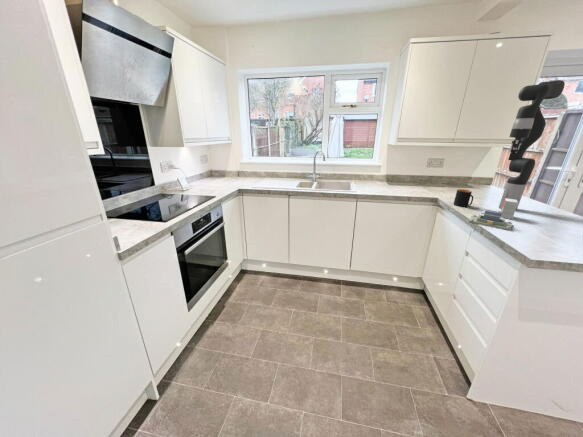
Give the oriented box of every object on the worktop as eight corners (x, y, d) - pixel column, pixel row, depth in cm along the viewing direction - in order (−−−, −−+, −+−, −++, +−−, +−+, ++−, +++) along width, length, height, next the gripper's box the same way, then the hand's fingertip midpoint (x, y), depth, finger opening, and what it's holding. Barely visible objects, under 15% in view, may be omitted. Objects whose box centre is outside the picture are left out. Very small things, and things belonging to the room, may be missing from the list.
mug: (464, 208, 154) (469, 193, 151) (450, 203, 166) (454, 189, 162) (475, 208, 156) (480, 193, 152) (460, 203, 167) (464, 189, 163)
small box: (499, 214, 145) (505, 197, 141) (511, 216, 142) (517, 199, 138) (499, 217, 139) (505, 200, 135) (512, 219, 136) (518, 202, 132)
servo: (480, 218, 134) (483, 207, 132) (501, 222, 128) (505, 211, 126) (479, 220, 131) (482, 209, 129) (501, 224, 125) (505, 213, 123)
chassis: (471, 216, 140) (472, 212, 139) (511, 224, 128) (513, 220, 127) (468, 222, 132) (469, 217, 131) (510, 230, 120) (512, 226, 119)
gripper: (512, 128, 128) (502, 158, 134) (511, 127, 119) (501, 160, 124) (531, 128, 124) (520, 159, 129) (531, 127, 114) (520, 161, 120)
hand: (511, 159), depth 127 cm, fingers open, 8 cm apart
